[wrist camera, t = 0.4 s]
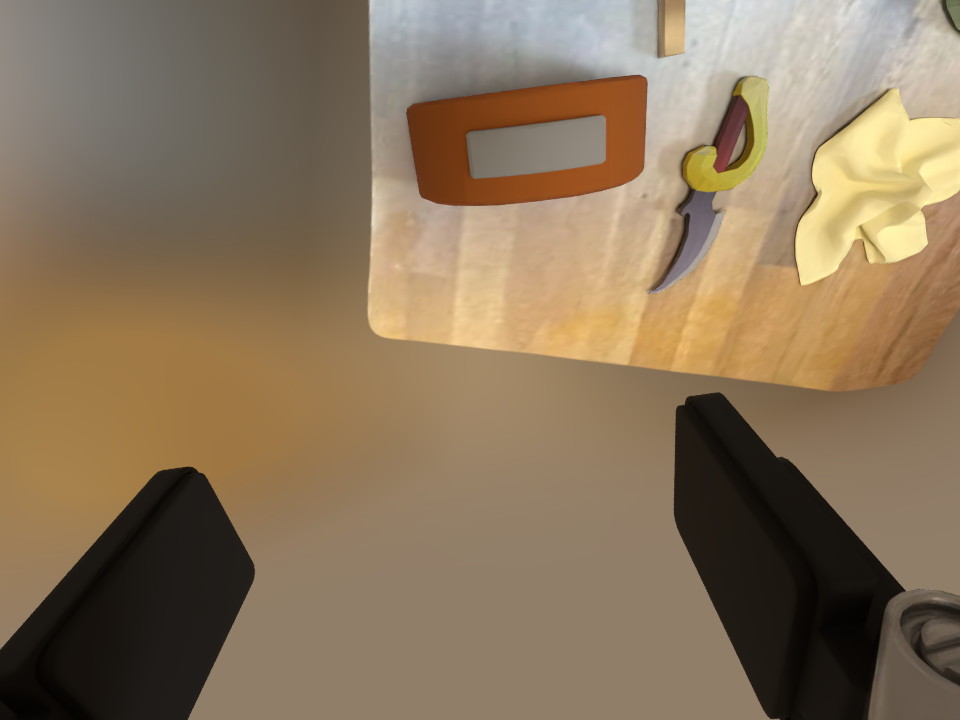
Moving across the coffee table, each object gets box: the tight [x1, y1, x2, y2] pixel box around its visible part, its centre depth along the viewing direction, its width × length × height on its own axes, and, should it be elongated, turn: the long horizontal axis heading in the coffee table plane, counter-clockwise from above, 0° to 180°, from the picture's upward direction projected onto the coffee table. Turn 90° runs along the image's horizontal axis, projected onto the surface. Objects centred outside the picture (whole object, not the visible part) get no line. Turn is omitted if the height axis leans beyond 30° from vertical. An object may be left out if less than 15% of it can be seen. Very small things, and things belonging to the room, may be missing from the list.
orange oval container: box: [406, 75, 647, 206], centre depth 47 cm, size 23×9×17 cm, turn 96°
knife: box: [646, 76, 769, 294], centre depth 57 cm, size 8×3×25 cm
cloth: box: [795, 88, 960, 286], centre depth 55 cm, size 22×19×6 cm
